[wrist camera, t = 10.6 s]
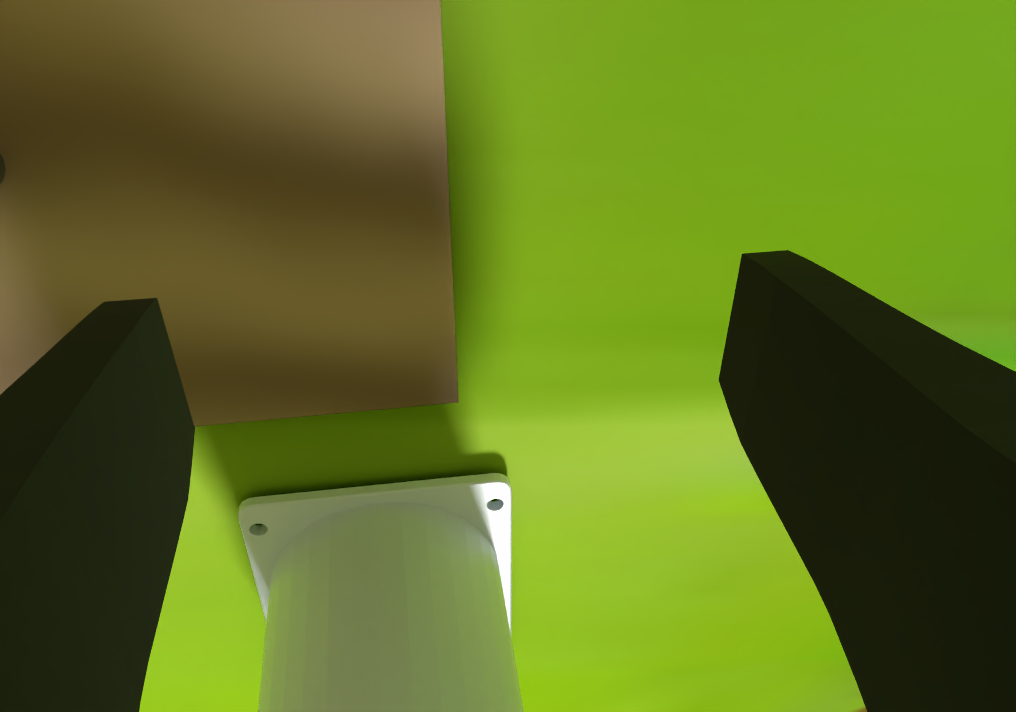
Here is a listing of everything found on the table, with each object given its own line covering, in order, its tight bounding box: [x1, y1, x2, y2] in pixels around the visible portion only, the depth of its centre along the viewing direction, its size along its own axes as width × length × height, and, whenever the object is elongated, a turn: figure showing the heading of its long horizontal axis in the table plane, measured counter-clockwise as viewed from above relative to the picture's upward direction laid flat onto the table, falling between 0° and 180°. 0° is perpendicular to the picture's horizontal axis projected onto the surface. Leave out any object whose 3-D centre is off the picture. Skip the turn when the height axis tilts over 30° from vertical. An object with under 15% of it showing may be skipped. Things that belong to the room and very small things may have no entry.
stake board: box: [0, 0, 458, 426], centre depth 16 cm, size 15×16×7 cm
